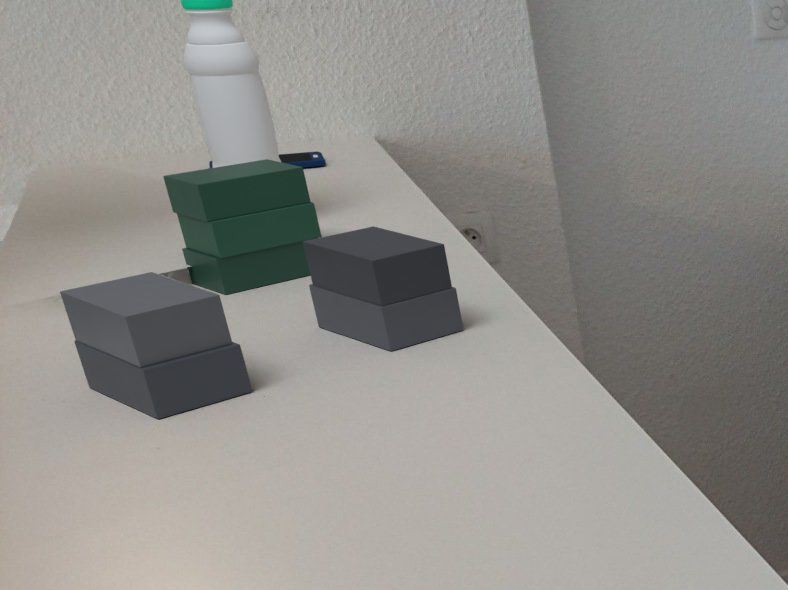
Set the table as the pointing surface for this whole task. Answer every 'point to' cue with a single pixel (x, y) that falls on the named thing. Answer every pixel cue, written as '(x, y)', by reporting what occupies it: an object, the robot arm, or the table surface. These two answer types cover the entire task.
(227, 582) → the table surface
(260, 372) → the table surface
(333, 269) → the grey blocks
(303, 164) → the cell phone
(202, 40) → the water bottle
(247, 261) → the green stack
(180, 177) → the green block
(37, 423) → the table surface
